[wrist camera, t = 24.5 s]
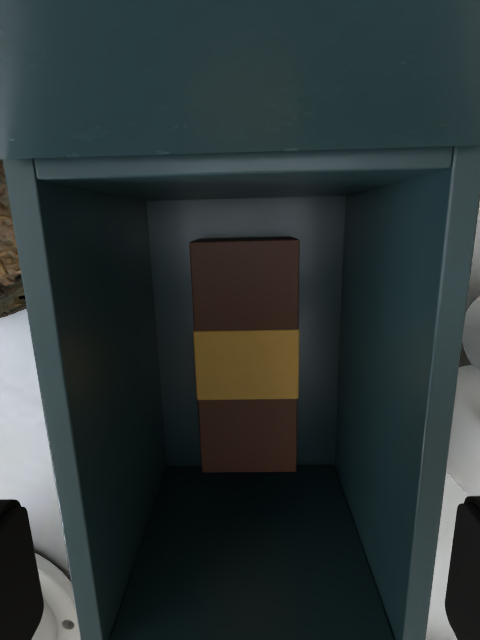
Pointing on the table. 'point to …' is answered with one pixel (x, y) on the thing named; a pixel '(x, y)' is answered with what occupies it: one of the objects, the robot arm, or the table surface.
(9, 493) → the table surface
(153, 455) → the box
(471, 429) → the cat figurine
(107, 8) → the bin lid
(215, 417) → the chocolate bar
